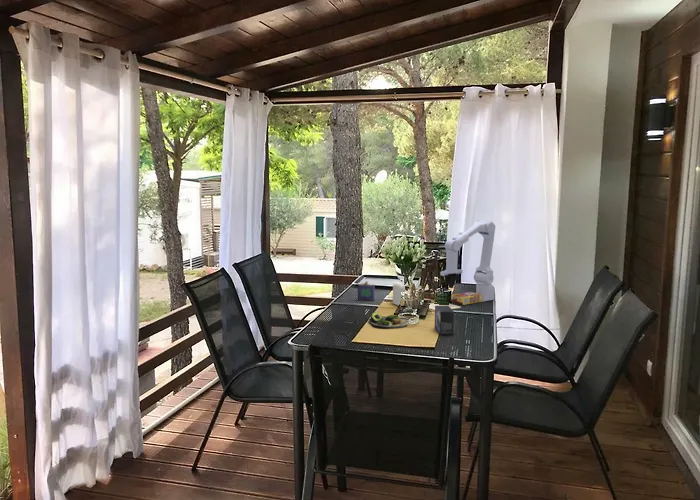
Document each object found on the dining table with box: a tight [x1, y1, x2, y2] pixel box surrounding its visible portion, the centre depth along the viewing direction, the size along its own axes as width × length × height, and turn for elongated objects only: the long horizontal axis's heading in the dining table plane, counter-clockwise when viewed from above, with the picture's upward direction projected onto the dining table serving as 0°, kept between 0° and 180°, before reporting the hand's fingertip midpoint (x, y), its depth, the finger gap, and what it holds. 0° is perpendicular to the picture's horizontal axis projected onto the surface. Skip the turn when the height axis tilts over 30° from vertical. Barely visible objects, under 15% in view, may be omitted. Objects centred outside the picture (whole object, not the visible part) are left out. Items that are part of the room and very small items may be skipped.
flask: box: [357, 281, 376, 302], centre depth 294 cm, size 9×3×11 cm, turn 87°
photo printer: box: [392, 281, 407, 307], centre depth 284 cm, size 10×4×12 cm, turn 26°
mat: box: [429, 302, 462, 311], centre depth 283 cm, size 16×14×1 cm
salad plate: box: [368, 312, 410, 329], centre depth 250 cm, size 19×18×5 cm
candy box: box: [450, 291, 483, 306], centre depth 294 cm, size 9×4×15 cm
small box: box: [434, 305, 455, 336], centre depth 238 cm, size 11×6×10 cm, turn 5°
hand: (450, 287), depth 285 cm, fingers closed
